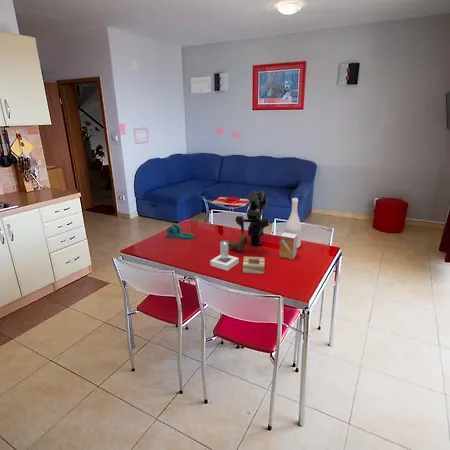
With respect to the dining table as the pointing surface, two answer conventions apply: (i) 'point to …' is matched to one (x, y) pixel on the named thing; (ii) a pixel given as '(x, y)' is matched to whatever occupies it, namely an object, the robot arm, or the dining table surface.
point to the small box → (288, 245)
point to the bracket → (178, 233)
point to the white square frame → (225, 266)
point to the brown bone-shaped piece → (238, 243)
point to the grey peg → (224, 251)
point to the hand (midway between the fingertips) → (250, 234)
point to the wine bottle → (294, 222)
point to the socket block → (253, 265)
